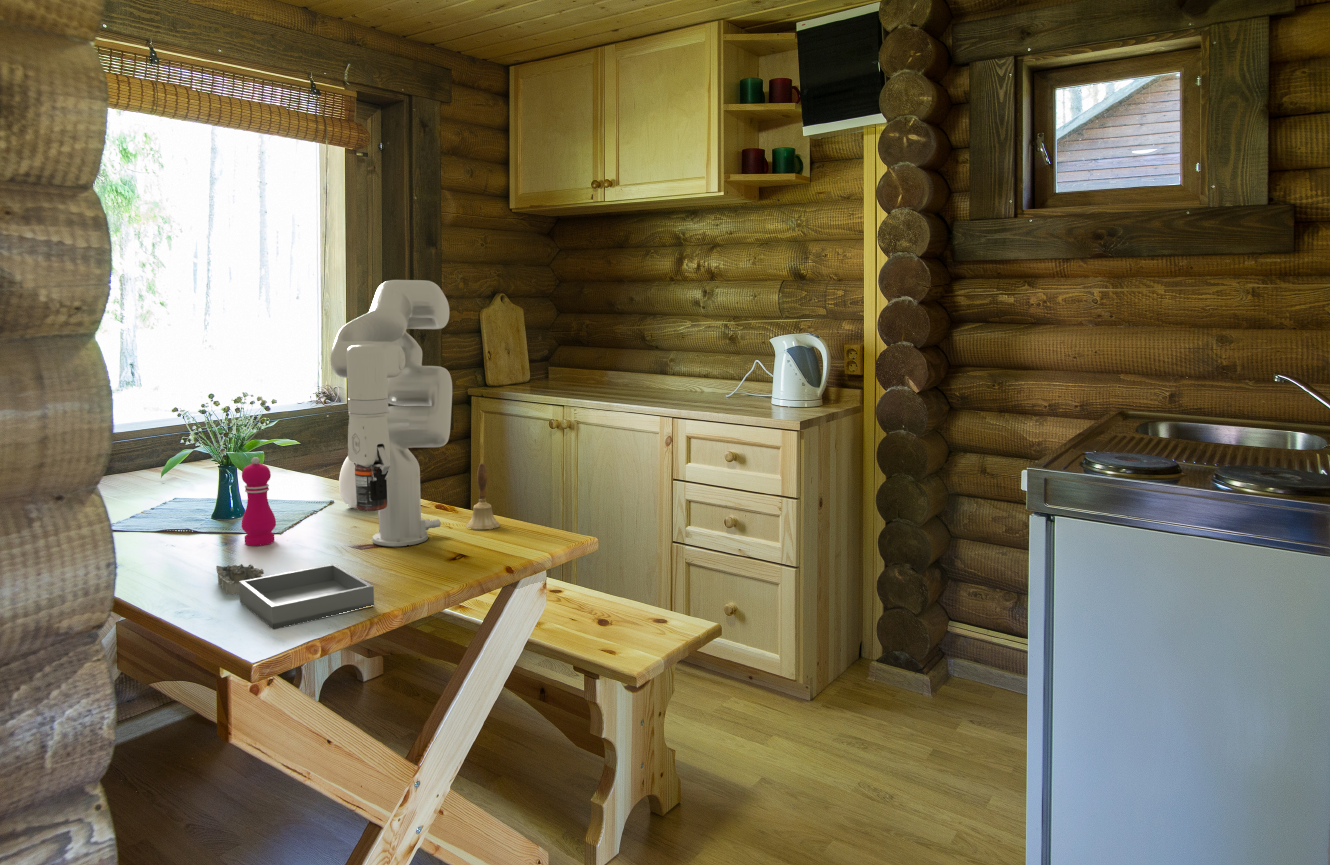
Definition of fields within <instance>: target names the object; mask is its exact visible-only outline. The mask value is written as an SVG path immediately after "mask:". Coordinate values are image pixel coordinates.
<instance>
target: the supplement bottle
mask: <svg viewBox="0 0 1330 865" xmlns="http://www.w3.org/2000/svg"><path fill="white" fill-rule="evenodd" d="M375 464H380V462H374V464H373V465H375ZM378 469H380V468H375V472H377V470H378ZM370 481H372V478H371V472H370V467H363V466H361V465H358V464H357V465H356V466H355V486H356V504H357V508H356V509H357V510H359V511H362V512H377V511H378V510H382V509H384V508H386V507H387V499H383V500H376V501H372V500H371V498H370Z"/></svg>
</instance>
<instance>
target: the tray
mask: <svg viewBox="0 0 1330 865" xmlns="http://www.w3.org/2000/svg"><path fill="white" fill-rule="evenodd" d="M374 586H375V585H372V584H371V583H369V582H367V580H366V581H365V580H364V579H362V578H361V577H359V576H357V575H355V574H354V573H352V572H350V571H349V570H347V569H346V568H344V567H342V566H341V565H338V564H337V563H331V564H326V565H319V566H314V567H310V568H303V569H299V570H294V571H286V572H281V573H278V574H271V575H267V576H262V577H260V578H254V579H251V578H248V579H245V580H243V581H239V589H240V594H239V603H241V604H242V605H243V606H244V607H246V608H247V610H249V611H251V613H253V614H254V615H255V616H256V617H257V618H259V619H260V620H261V621H263V622H264V623H265V624H266V625H267V626H268V625H269V626H270V627H269V626H268V627H269V628H271V629H272V630H277V629H281V628H280V627H282V628H285V627H284V626H286V627H290V626H289V625H291V626H295V625H298V623H300V624H304V623H308V622H307V621H309V622H312V621H311V620H313V621H316V620H315V619H318V620H320V619H319V618H322V617H326V616H331V615H336V614H339V613H343V612H347V611H351V610H355V609H359V608H363V607H366V606H371V605H374V606H375V595H374V594H375V590H374V589H375V587H374ZM336 616H337V615H336ZM331 617H332V616H331ZM322 619H323V618H322ZM303 622H304V623H303ZM294 624H295V625H294Z"/></svg>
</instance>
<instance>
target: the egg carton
mask: <svg viewBox="0 0 1330 865" xmlns="http://www.w3.org/2000/svg"><path fill="white" fill-rule="evenodd" d="M215 570H216V574H217V584H218V586H221V589H222V590H224V591H225V594H226V595H236V596H237V595H240V589H239V581H243V580H246V578H248V579H254V578H260V577H263V575H265V572H264V569H263V568H261V569H260V568H257V567H255V566H254V565H253V564H248V566H244V564H243V563H240V564H239V565H236V564H233V565H227V566H220V565H216V569H215Z"/></svg>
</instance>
